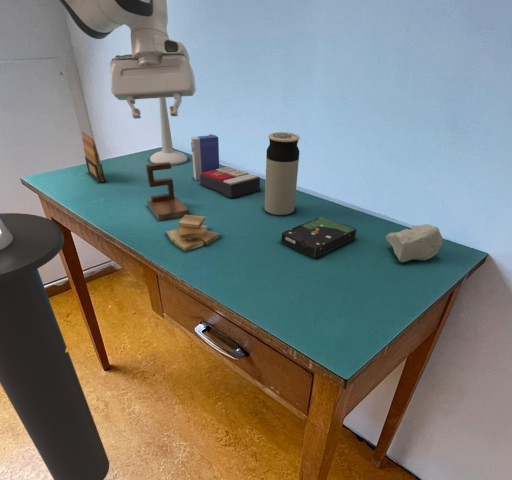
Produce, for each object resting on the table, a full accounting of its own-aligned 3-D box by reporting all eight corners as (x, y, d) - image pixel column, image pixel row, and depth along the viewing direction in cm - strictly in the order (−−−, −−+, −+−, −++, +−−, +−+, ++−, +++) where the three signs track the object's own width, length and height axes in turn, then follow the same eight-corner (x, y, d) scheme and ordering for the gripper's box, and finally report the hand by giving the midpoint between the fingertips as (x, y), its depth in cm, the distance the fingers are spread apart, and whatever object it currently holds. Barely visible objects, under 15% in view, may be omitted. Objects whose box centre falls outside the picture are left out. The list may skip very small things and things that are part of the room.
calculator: (227, 165, 123) (260, 174, 114) (228, 179, 125) (260, 190, 116) (198, 171, 117) (231, 182, 108) (200, 186, 119) (231, 198, 111)
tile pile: (185, 252, 86) (183, 235, 83) (161, 235, 92) (159, 218, 89) (224, 239, 91) (223, 223, 88) (199, 224, 97) (198, 208, 95)
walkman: (216, 175, 126) (214, 133, 119) (219, 177, 125) (218, 135, 117) (193, 177, 124) (189, 135, 116) (195, 180, 122) (192, 137, 114)
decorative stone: (409, 232, 93) (442, 208, 84) (422, 268, 91) (457, 247, 82) (372, 235, 89) (402, 210, 80) (386, 273, 87) (418, 251, 78)
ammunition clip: (88, 173, 125) (78, 131, 117) (94, 172, 125) (84, 130, 118) (99, 183, 118) (89, 139, 110) (105, 182, 119) (96, 138, 111)
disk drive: (315, 260, 85) (355, 239, 93) (316, 248, 83) (357, 228, 91) (280, 243, 90) (320, 225, 98) (280, 232, 89) (322, 214, 97)
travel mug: (268, 216, 102) (271, 140, 90) (261, 205, 108) (263, 132, 96) (297, 215, 103) (305, 139, 92) (289, 203, 109) (295, 131, 98)
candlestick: (193, 157, 141) (186, 53, 122) (175, 167, 132) (164, 56, 112) (162, 152, 144) (150, 51, 125) (142, 162, 135) (126, 53, 116)
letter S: (158, 220, 98) (152, 177, 91) (148, 206, 105) (141, 165, 98) (189, 215, 101) (185, 172, 94) (177, 202, 108) (172, 161, 101)
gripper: (102, 49, 92) (108, 114, 95) (189, 43, 90) (192, 109, 93) (114, 62, 98) (119, 123, 101) (195, 56, 96) (198, 118, 99)
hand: (155, 116), depth 97 cm, fingers open, 8 cm apart
